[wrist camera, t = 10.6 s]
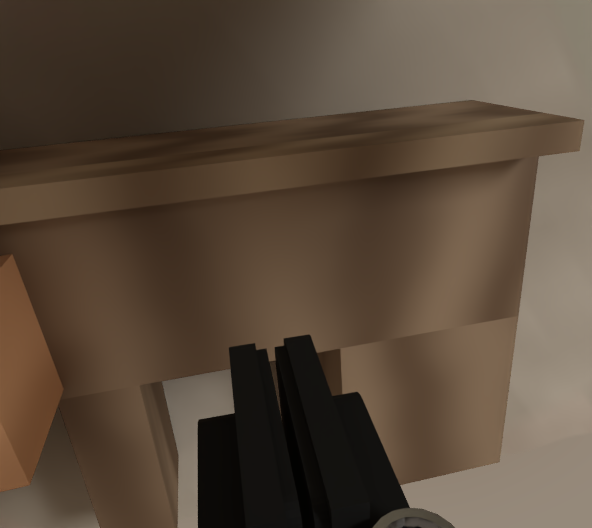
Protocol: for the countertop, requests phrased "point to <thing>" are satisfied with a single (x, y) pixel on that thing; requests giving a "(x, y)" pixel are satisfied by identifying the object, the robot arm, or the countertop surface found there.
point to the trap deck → (281, 276)
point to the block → (22, 382)
